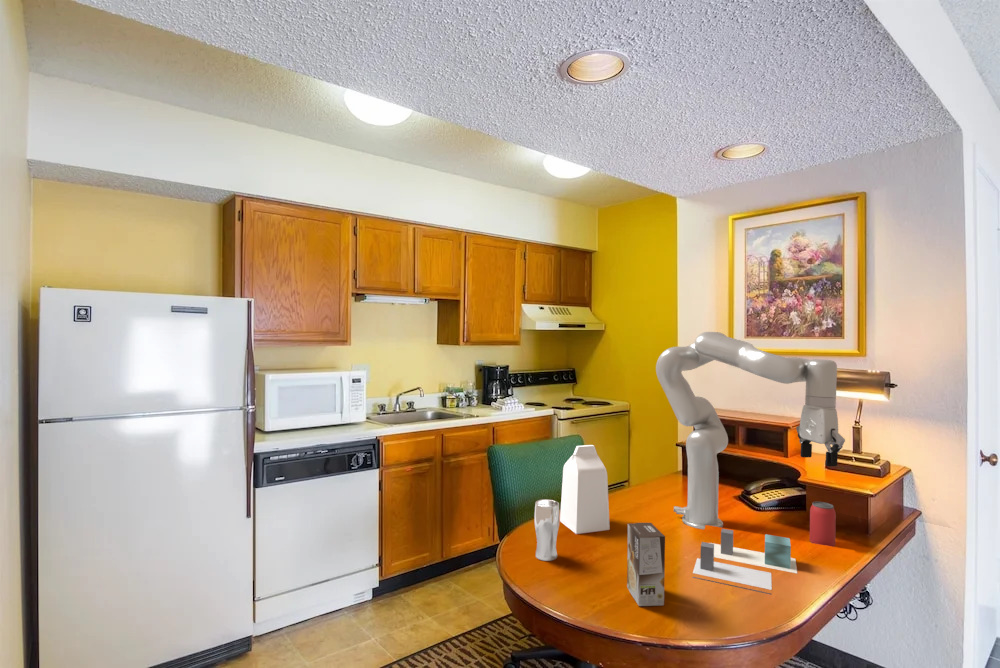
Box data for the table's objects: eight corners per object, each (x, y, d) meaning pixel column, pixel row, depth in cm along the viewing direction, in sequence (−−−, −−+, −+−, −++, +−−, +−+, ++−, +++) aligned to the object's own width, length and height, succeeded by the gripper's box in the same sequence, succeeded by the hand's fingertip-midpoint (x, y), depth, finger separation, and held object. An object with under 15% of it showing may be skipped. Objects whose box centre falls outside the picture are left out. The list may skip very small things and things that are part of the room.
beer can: (839, 549, 152) (839, 509, 152) (814, 547, 154) (815, 507, 154) (829, 540, 159) (830, 501, 159) (806, 538, 160) (806, 500, 160)
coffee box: (665, 606, 119) (666, 536, 119) (638, 606, 119) (639, 537, 119) (650, 586, 128) (651, 522, 128) (625, 587, 128) (626, 522, 128)
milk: (576, 534, 161) (577, 450, 161) (559, 521, 172) (561, 443, 172) (609, 529, 165) (610, 448, 165) (591, 517, 176) (592, 441, 176)
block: (764, 564, 139) (765, 541, 138) (764, 555, 144) (765, 534, 144) (790, 569, 136) (790, 546, 136) (789, 560, 141) (789, 538, 141)
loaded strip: (706, 559, 143) (706, 533, 143) (709, 546, 152) (709, 522, 152) (797, 578, 133) (797, 550, 133) (795, 563, 142) (795, 536, 142)
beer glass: (561, 553, 147) (561, 500, 147) (555, 563, 140) (556, 508, 140) (537, 549, 149) (538, 497, 149) (530, 559, 143) (531, 505, 143)
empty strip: (692, 577, 133) (693, 549, 133) (697, 562, 142) (697, 536, 142) (771, 594, 124) (772, 565, 124) (771, 577, 133) (771, 549, 133)
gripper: (787, 398, 157) (785, 454, 157) (831, 407, 140) (829, 469, 140) (810, 398, 158) (808, 453, 158) (856, 407, 141) (854, 469, 141)
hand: (818, 461), depth 149 cm, fingers open, 9 cm apart
